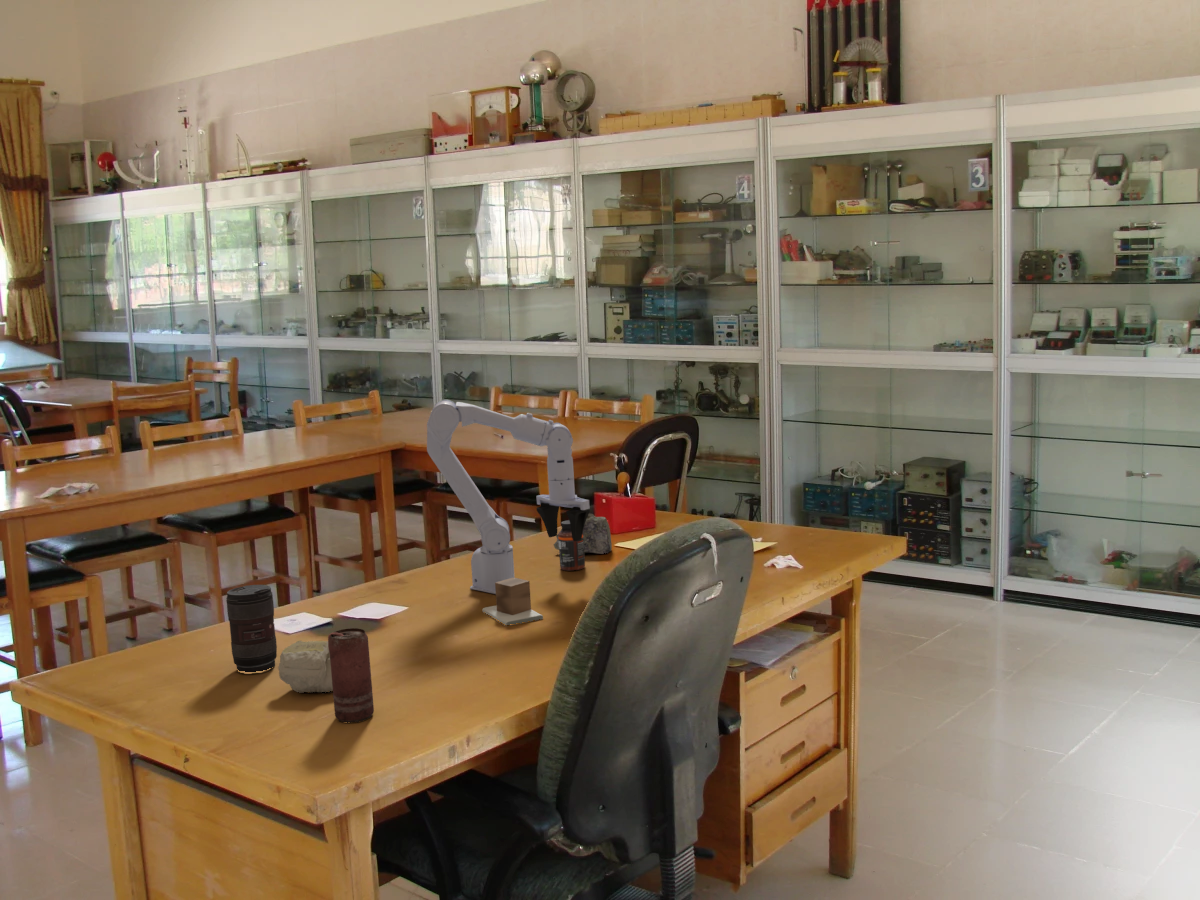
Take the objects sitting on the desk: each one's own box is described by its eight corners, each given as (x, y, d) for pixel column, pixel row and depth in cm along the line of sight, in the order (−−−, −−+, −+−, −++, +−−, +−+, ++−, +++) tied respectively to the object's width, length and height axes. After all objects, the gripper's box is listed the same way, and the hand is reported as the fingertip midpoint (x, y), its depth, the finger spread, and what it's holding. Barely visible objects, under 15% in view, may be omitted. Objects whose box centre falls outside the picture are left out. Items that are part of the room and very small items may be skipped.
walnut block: (496, 610, 237) (494, 582, 236) (515, 605, 241) (513, 577, 240) (512, 615, 234) (510, 586, 233) (531, 609, 237) (529, 581, 236)
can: (336, 711, 188) (329, 628, 186) (375, 708, 188) (369, 625, 186) (331, 725, 182) (323, 640, 180) (371, 722, 182) (364, 637, 180)
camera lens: (288, 662, 214) (280, 584, 211) (262, 677, 206) (254, 596, 204) (251, 659, 216) (243, 582, 214) (224, 674, 209) (216, 594, 207)
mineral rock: (552, 554, 287) (549, 515, 286) (578, 545, 296) (576, 506, 294) (593, 560, 279) (591, 519, 278) (619, 550, 288) (617, 511, 286)
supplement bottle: (586, 564, 275) (584, 518, 273) (583, 571, 269) (581, 524, 267) (561, 565, 275) (559, 519, 274) (558, 571, 270) (555, 524, 268)
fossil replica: (355, 695, 196) (347, 681, 205) (354, 646, 195) (346, 635, 205) (281, 701, 192) (277, 687, 201) (281, 651, 191) (276, 640, 201)
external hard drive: (506, 629, 229) (482, 614, 240) (543, 622, 233) (518, 608, 244) (505, 622, 229) (482, 607, 240) (543, 614, 233) (517, 600, 244)
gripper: (597, 477, 253) (600, 538, 255) (550, 473, 263) (554, 531, 265) (575, 483, 248) (579, 544, 250) (528, 478, 258) (532, 537, 260)
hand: (564, 538), depth 257 cm, fingers open, 7 cm apart
